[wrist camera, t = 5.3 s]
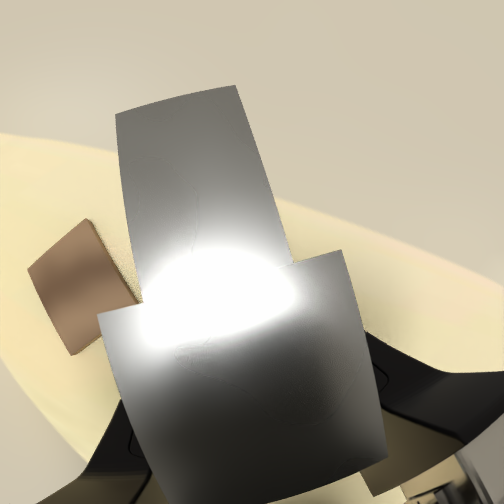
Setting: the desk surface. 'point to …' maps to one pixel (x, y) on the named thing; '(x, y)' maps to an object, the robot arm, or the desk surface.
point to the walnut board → (79, 286)
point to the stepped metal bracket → (232, 320)
